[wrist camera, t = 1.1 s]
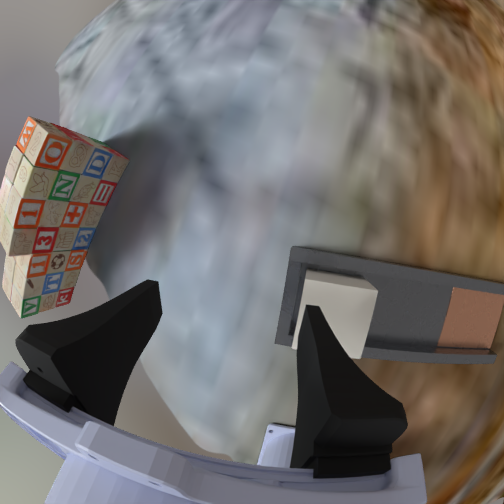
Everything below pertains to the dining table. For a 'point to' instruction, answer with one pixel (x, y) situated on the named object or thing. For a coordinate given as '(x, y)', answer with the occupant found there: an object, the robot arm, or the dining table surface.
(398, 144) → the dining table surface
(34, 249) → the stack of blocks
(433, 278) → the gray rectangular tray
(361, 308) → the block
